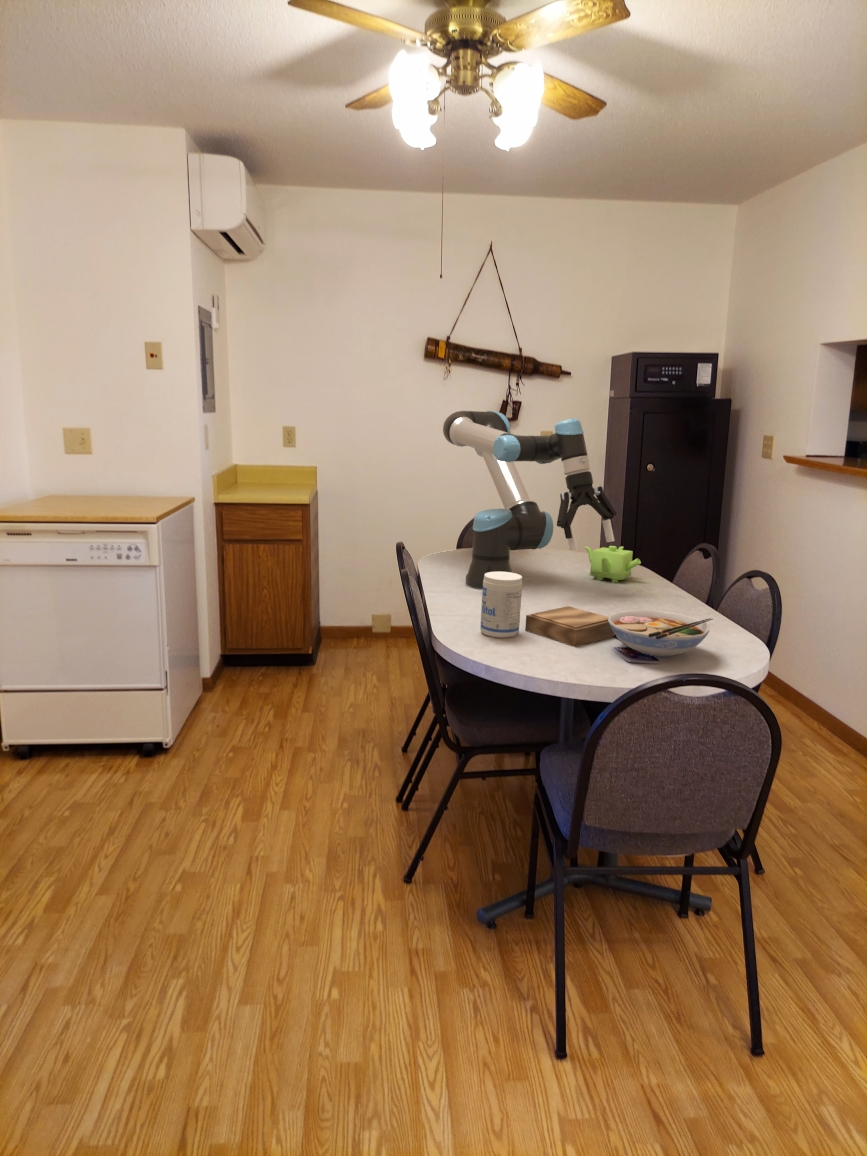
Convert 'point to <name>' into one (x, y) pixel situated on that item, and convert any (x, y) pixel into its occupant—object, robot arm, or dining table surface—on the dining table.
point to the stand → (569, 625)
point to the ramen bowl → (658, 631)
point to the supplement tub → (501, 604)
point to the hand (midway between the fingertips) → (592, 545)
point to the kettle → (611, 563)
